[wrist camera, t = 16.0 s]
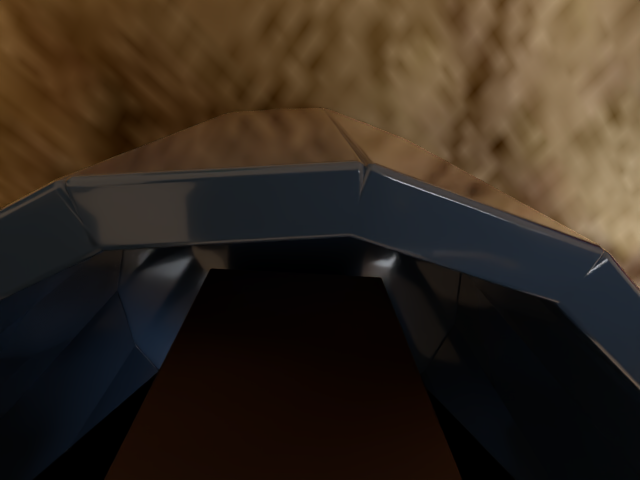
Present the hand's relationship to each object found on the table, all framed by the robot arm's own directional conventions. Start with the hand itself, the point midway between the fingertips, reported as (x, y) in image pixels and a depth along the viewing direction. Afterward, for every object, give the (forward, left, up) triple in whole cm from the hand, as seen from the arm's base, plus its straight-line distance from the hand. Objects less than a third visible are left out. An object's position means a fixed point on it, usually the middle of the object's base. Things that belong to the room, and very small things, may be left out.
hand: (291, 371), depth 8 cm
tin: (0, 0, -3) cm, 3 cm away
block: (0, 0, -1) cm, 1 cm away
